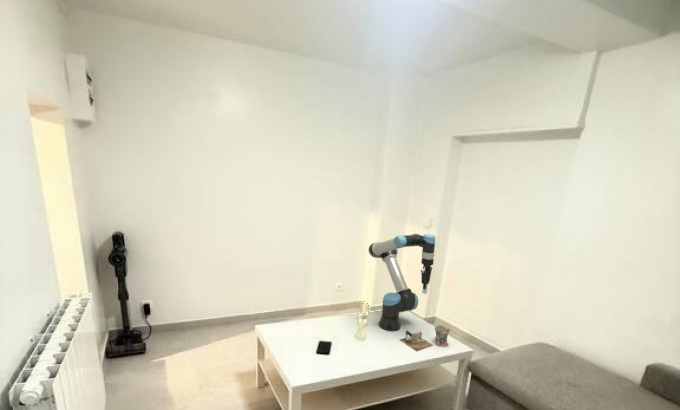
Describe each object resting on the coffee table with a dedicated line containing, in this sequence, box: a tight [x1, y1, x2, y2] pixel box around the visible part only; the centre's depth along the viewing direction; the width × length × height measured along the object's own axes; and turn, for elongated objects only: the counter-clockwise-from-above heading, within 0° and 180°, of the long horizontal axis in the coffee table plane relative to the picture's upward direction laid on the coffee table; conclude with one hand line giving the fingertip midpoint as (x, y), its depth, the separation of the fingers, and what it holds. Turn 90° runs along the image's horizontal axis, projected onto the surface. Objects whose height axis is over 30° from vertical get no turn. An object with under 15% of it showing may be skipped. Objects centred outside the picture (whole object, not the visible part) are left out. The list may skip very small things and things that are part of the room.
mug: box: [433, 325, 451, 348], centre depth 202 cm, size 12×9×11 cm
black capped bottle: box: [404, 330, 423, 342], centre depth 203 cm, size 12×4×6 cm, turn 117°
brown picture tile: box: [399, 337, 434, 352], centre depth 200 cm, size 15×15×1 cm
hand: (424, 293), depth 209 cm, fingers closed
